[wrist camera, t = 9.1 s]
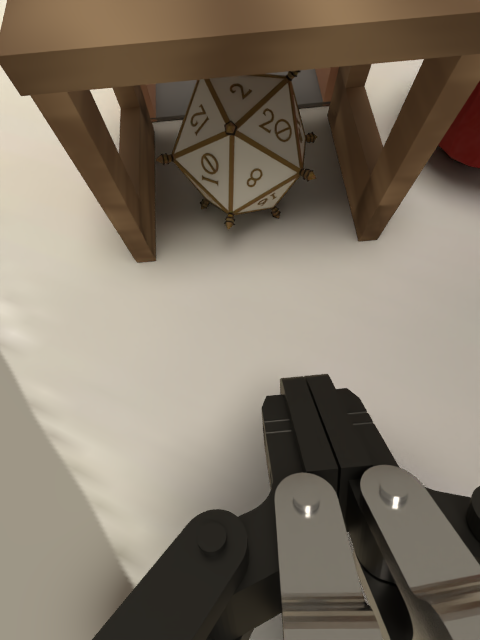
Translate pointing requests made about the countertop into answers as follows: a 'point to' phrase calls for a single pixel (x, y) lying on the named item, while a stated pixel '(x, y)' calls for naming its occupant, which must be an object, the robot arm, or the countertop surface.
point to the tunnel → (238, 60)
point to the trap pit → (307, 86)
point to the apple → (465, 133)
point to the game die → (242, 142)
